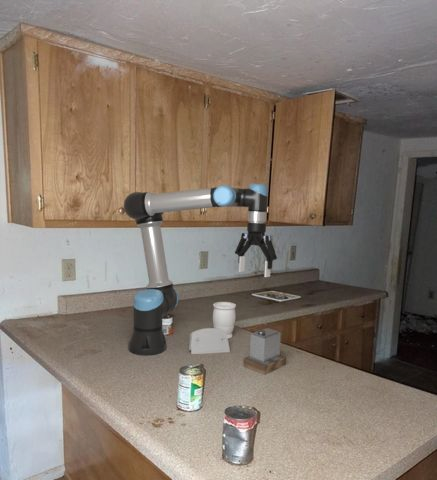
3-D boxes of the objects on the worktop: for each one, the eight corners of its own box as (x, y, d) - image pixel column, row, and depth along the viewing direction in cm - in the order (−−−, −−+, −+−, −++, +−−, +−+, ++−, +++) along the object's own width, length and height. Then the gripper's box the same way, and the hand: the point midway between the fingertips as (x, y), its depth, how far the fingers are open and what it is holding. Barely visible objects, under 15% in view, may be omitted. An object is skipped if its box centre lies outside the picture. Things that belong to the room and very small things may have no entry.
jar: (219, 331, 183) (220, 300, 181) (238, 335, 178) (240, 303, 176) (207, 337, 174) (208, 304, 172) (227, 341, 168) (228, 308, 167)
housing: (279, 356, 146) (280, 328, 145) (263, 363, 139) (265, 334, 138) (265, 351, 150) (267, 324, 149) (249, 357, 143) (250, 330, 142)
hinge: (190, 354, 153) (189, 328, 155) (188, 353, 157) (187, 329, 160) (230, 352, 157) (229, 327, 159) (227, 351, 161) (226, 327, 164)
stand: (264, 374, 136) (265, 365, 136) (243, 366, 143) (243, 357, 143) (285, 364, 146) (285, 356, 146) (264, 357, 153) (264, 349, 152)
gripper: (287, 224, 149) (284, 278, 151) (240, 220, 166) (237, 268, 168) (276, 224, 143) (272, 280, 145) (228, 220, 161) (225, 270, 163)
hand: (254, 274), depth 157 cm, fingers open, 13 cm apart
